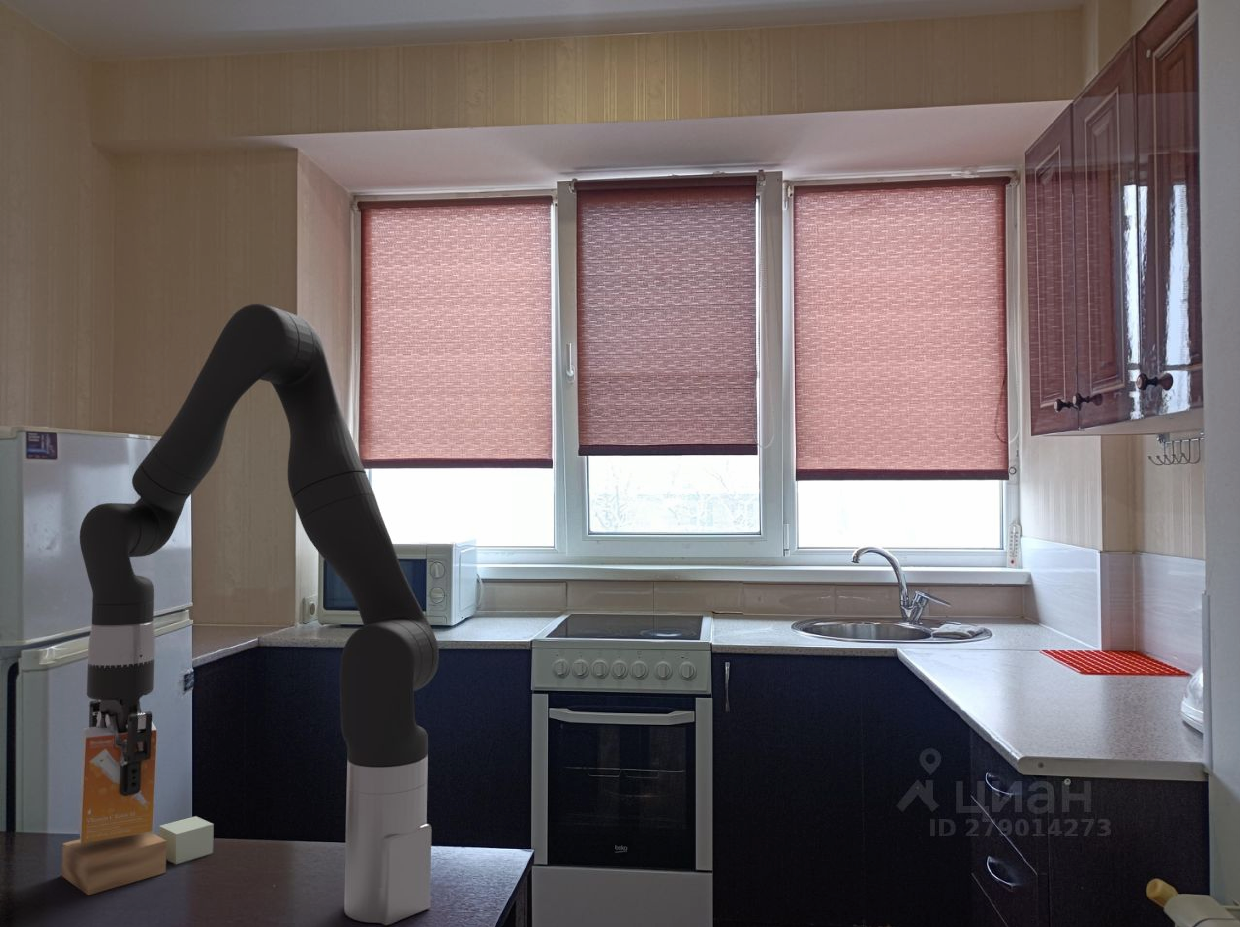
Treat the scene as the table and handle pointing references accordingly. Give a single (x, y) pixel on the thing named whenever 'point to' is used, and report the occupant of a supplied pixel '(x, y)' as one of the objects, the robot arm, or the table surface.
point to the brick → (187, 839)
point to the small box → (112, 790)
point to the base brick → (113, 861)
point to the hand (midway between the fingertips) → (117, 788)
